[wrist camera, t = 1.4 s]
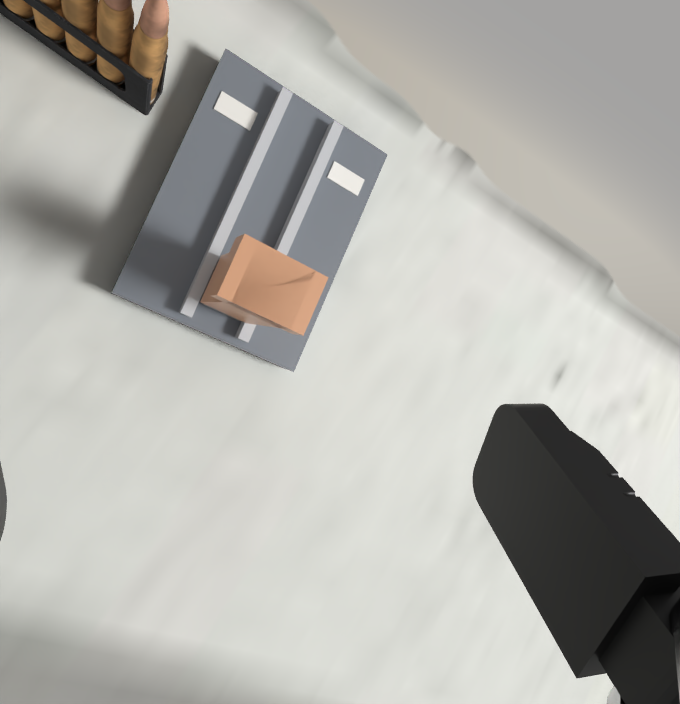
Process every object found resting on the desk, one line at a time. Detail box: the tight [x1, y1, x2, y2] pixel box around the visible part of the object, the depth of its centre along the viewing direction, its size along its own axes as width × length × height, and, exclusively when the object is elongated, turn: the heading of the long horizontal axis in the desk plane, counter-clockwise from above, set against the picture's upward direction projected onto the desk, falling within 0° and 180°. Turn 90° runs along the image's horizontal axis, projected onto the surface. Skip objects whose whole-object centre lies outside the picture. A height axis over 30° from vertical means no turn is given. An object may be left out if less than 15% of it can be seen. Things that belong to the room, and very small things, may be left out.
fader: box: [200, 234, 329, 336], centre depth 30 cm, size 4×3×10 cm
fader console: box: [111, 49, 387, 372], centre depth 36 cm, size 12×16×3 cm
